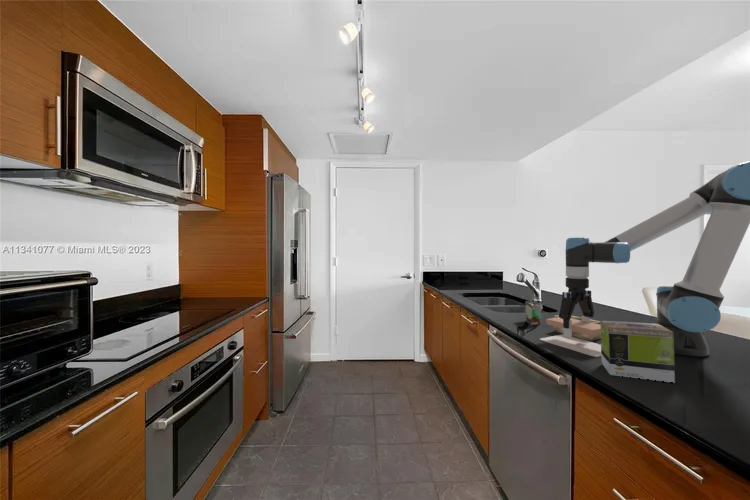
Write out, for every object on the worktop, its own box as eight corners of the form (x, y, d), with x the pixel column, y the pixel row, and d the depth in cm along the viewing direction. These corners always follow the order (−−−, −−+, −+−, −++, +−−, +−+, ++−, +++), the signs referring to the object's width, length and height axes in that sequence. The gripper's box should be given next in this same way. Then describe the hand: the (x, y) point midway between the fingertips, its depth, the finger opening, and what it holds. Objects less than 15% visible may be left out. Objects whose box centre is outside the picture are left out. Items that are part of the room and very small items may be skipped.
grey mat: (620, 351, 112) (620, 349, 112) (596, 357, 106) (596, 355, 106) (562, 335, 132) (562, 334, 132) (539, 339, 126) (539, 338, 126)
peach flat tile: (610, 335, 113) (610, 326, 113) (592, 338, 109) (592, 330, 109) (562, 323, 129) (562, 316, 129) (546, 326, 125) (546, 319, 125)
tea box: (660, 371, 94) (660, 323, 94) (675, 384, 85) (675, 331, 85) (600, 363, 100) (600, 318, 100) (608, 375, 91) (608, 326, 91)
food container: (546, 327, 145) (546, 306, 145) (532, 326, 147) (532, 305, 147) (538, 320, 158) (538, 301, 157) (525, 320, 159) (525, 301, 159)
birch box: (601, 338, 127) (601, 321, 126) (591, 341, 124) (591, 323, 124) (564, 329, 141) (564, 314, 141) (553, 331, 138) (553, 315, 138)
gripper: (585, 275, 127) (585, 329, 127) (547, 277, 117) (547, 335, 118) (605, 276, 120) (605, 333, 120) (567, 279, 111) (566, 341, 111)
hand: (576, 334), depth 119 cm, fingers closed on peach flat tile, 10 cm apart
